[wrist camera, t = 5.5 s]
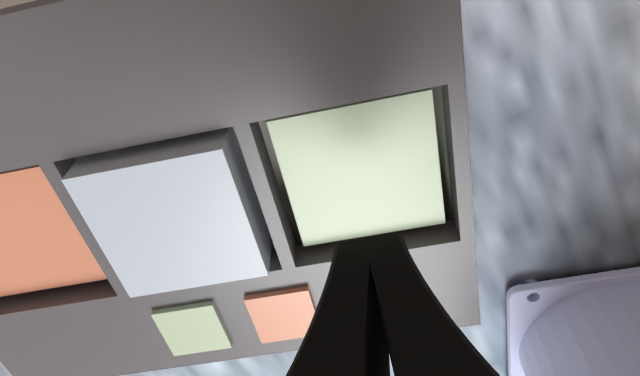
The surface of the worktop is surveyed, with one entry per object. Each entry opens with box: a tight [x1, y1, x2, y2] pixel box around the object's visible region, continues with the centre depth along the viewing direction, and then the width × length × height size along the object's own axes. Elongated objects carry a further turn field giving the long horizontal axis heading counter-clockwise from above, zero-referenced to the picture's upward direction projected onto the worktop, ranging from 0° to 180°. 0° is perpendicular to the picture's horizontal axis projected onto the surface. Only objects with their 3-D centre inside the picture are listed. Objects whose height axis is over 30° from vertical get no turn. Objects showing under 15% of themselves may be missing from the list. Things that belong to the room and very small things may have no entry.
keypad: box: [0, 0, 480, 376], centre depth 16 cm, size 16×12×5 cm
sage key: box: [266, 88, 445, 246], centre depth 15 cm, size 4×4×2 cm
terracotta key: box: [0, 157, 107, 297], centre depth 16 cm, size 4×4×2 cm
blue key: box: [61, 127, 273, 298], centre depth 15 cm, size 4×4×2 cm
